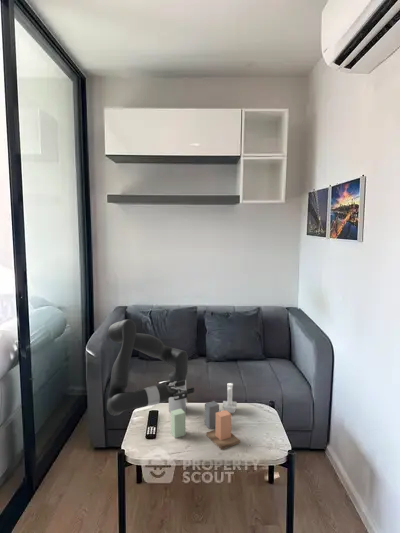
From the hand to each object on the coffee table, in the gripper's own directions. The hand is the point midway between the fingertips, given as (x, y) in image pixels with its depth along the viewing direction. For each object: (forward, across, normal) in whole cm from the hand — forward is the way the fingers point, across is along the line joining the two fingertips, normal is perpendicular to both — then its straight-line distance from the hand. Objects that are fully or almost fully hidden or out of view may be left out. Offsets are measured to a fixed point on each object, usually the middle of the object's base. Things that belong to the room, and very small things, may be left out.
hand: (189, 386), depth 165 cm
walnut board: (+14, -5, +27) cm, 31 cm away
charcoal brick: (+17, +8, +28) cm, 33 cm away
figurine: (+33, +16, +28) cm, 46 cm away
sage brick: (-1, +9, +27) cm, 29 cm away
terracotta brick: (+15, -5, +26) cm, 30 cm away
